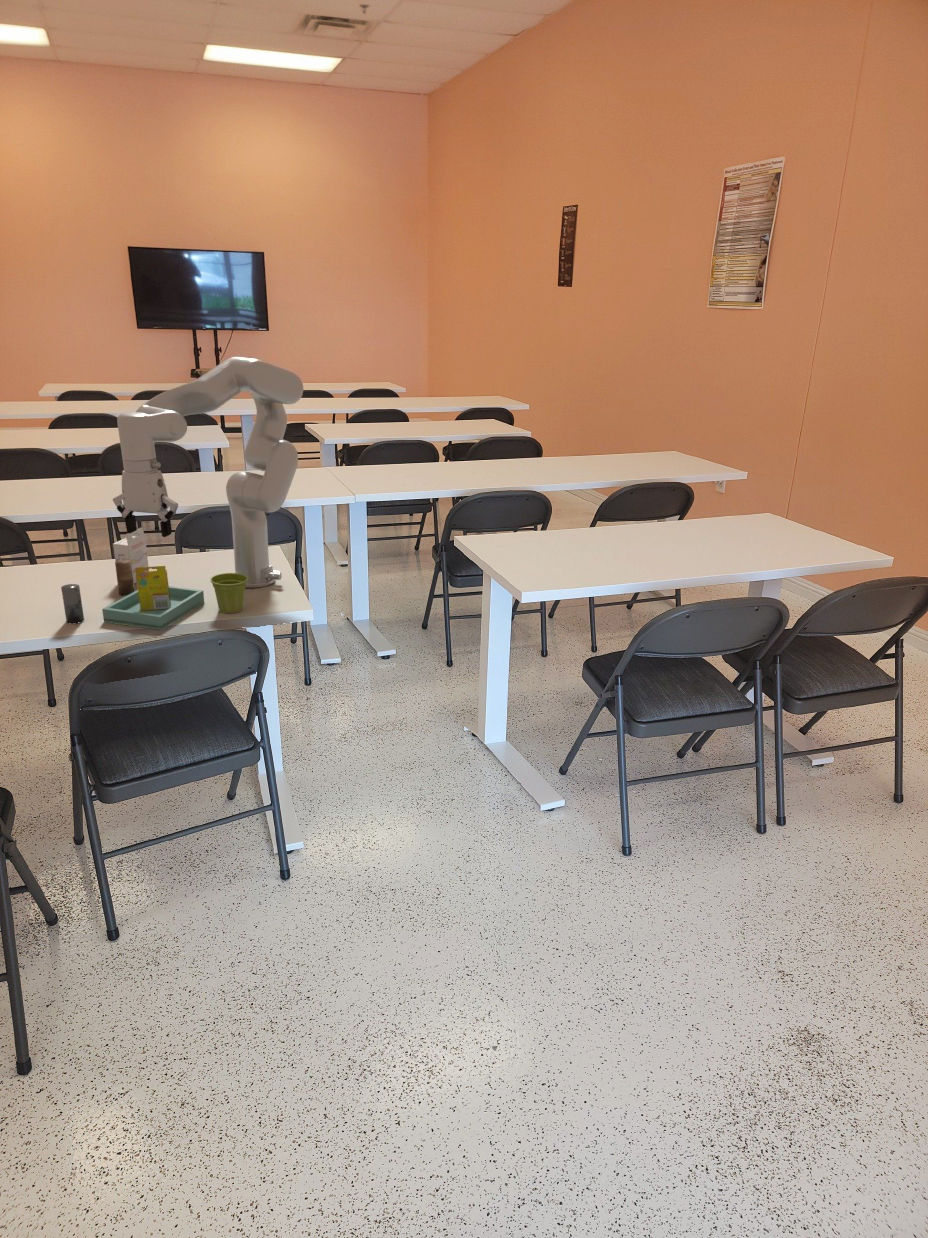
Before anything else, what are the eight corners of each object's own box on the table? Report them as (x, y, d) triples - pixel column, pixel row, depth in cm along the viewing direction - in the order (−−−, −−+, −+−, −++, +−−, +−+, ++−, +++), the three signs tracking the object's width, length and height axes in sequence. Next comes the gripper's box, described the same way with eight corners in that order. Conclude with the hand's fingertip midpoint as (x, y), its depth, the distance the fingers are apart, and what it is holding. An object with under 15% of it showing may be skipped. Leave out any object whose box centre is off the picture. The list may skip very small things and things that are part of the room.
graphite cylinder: (87, 618, 200) (82, 585, 196) (77, 624, 196) (71, 590, 193) (73, 616, 200) (68, 583, 197) (62, 622, 197) (57, 588, 193)
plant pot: (233, 600, 216) (231, 570, 212) (257, 609, 211) (255, 578, 208) (205, 610, 209) (202, 578, 205) (228, 619, 204) (226, 587, 200)
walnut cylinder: (137, 591, 219) (134, 560, 215) (128, 596, 215) (125, 564, 212) (124, 590, 219) (121, 558, 216) (115, 594, 216) (111, 563, 212)
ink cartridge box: (134, 573, 232) (128, 524, 227) (150, 575, 231) (144, 526, 226) (117, 583, 224) (110, 532, 219) (133, 585, 223) (127, 534, 218)
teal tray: (204, 602, 213) (203, 590, 212) (161, 630, 195) (160, 616, 194) (150, 595, 216) (149, 583, 215) (103, 622, 198) (102, 608, 197)
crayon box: (171, 605, 208) (166, 562, 204) (170, 609, 205) (166, 566, 201) (140, 607, 206) (135, 564, 201) (140, 611, 203) (135, 567, 199)
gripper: (181, 465, 193) (188, 532, 200) (118, 459, 197) (127, 526, 203) (163, 471, 187) (172, 541, 193) (98, 465, 190) (109, 534, 197)
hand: (149, 533), depth 198 cm, fingers open, 9 cm apart
